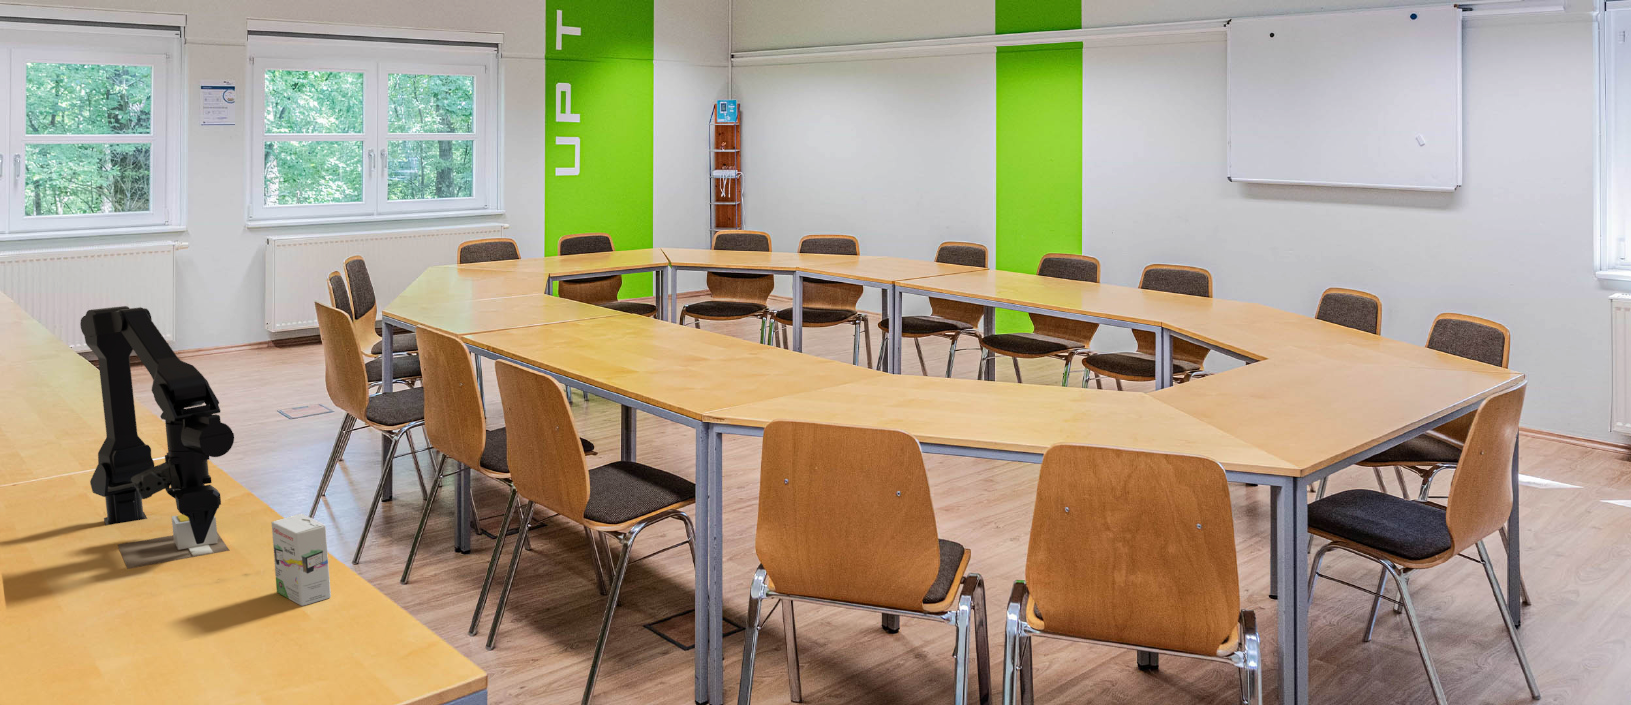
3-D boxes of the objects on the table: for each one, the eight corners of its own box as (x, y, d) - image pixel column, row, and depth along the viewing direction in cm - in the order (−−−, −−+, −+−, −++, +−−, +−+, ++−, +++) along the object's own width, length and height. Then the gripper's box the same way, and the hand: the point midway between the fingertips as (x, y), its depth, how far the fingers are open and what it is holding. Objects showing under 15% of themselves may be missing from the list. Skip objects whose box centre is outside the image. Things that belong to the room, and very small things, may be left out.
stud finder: (173, 541, 204) (171, 515, 203) (212, 535, 207) (210, 509, 207) (178, 549, 200) (175, 522, 199) (217, 542, 203) (215, 516, 203)
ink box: (275, 593, 185) (269, 520, 183) (306, 584, 189) (300, 512, 187) (301, 607, 180) (295, 532, 177) (332, 597, 183) (327, 524, 181)
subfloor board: (118, 551, 203) (117, 543, 203) (215, 534, 212) (214, 527, 212) (128, 575, 192) (127, 567, 192) (230, 557, 201) (229, 549, 200)
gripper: (125, 442, 204) (134, 530, 206) (140, 467, 189) (149, 561, 191) (197, 433, 210) (205, 518, 213) (217, 456, 195) (225, 547, 198)
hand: (195, 536), depth 204 cm, fingers open, 9 cm apart
